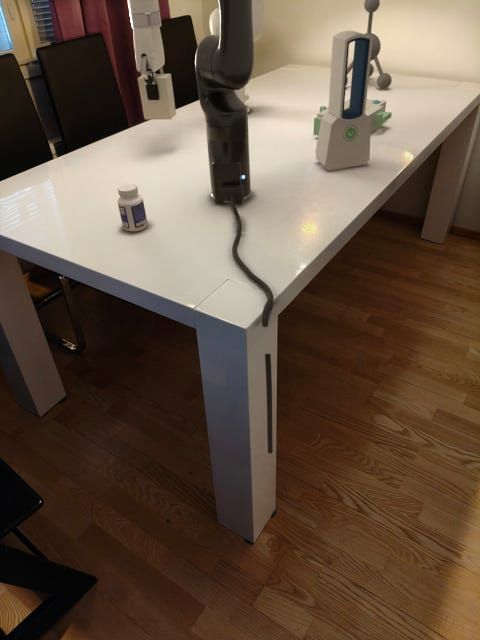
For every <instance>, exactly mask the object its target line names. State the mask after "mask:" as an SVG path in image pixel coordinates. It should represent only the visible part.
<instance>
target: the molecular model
mask: <svg viewBox="0 0 480 640" xmlns="http://www.w3.org/2000/svg"><path fill="white" fill-rule="evenodd" d="M380 4H381V1H380V0H364V3H363V6H364V10H365V11H366V12H367V13H368V20H367V29H366V30H367V31H366V33H364V34H366V35H369V36H371V37H373V42H372V51H371V61H370V70H369V78H370V77H372V76H373V74H374V72H375V71H374V70H375V68H374V65H373V64H372V63H371V62H372V61H374V63H375V66H376V69H377V71H378V74H379V75H378V76H377V78H376V85H377V87H378V88H380V89H381V90H385V89H387V88H389V87H390V86H391V84H392V82H393V78H392V76H391V74H390V73H388V72H384V71H383V68H382V66H381V63H380V60H379V57H378V55H380V51H381V45H382V44H381V40H380V38H379V37H378V35H377V34H375V33H372V28H373V17H374V13H375V12H376V11H378V10H379V8H380ZM351 70H353V60H352V61H351V62H350V64H349V66H347V75H348V74H349V73H350V72H351ZM348 82H349V77H348V76H347V77H346V86H347V85H348Z"/></svg>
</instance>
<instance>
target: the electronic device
mask: <svg viewBox="0 0 480 640" xmlns="http://www.w3.org/2000/svg"><path fill="white" fill-rule="evenodd" d="M353 42H354V48H353V60H352V61H353V68H352V69H351V70H352V72H351V84H350V95H349V99H350V105H349V108H347V109H345V110H344V103H345V101H346V89H347V85H346V77H348V74H347V68H348V64H349V63H348V62H349V53H350V52H349V51H350V50H349V49H350V44H351V43H353ZM372 42H373V37H371V36H369V35H366V34H365V33H362V32H358V31H355V30H343V31H340V32H338V33H336V34H334V35H333V36H332V43H331V44H332V46H331V47H332V48H331V61H330V78H329V95H328V107H329V110H328V112H327V113H326V114H325V115H324V116H323V117H322V119H321V124H320V129H319V135H317V140H316V146H315V160H317V161H318V162H319V163H320V165H322V166H323V167H324V168H326V169H327V170H328V171H333V170H341V169H346V168H353V167H354V168H355V167H359V166H365V165H366V164H368V162H369V161H370V159H371V133H370V129H371V119H370V118H369V117H368V116H367V115H366V114H365V109H366V99H368V98H367V97H368V90H369V89H368V88H369V79H370V77H369V70H370V63H371V62H372V61H371V51H372Z"/></svg>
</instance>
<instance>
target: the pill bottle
mask: <svg viewBox="0 0 480 640" xmlns="http://www.w3.org/2000/svg"><path fill="white" fill-rule="evenodd" d="M117 193H118V196H119V197H118V199H117V206H118V210H119V211H118V212H119V215H120V219H121V224H122V227H123V229H124V230H125V231H128V232H138V231H141V230H144V229H146V227H147V226H148V217H147V214H146V208H145V203H144V198H143V196H142V195H141V194H139V188H138V185H137V184H135V183H132V182H131V183H123V184H121V185H119V186H118V187H117Z"/></svg>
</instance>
